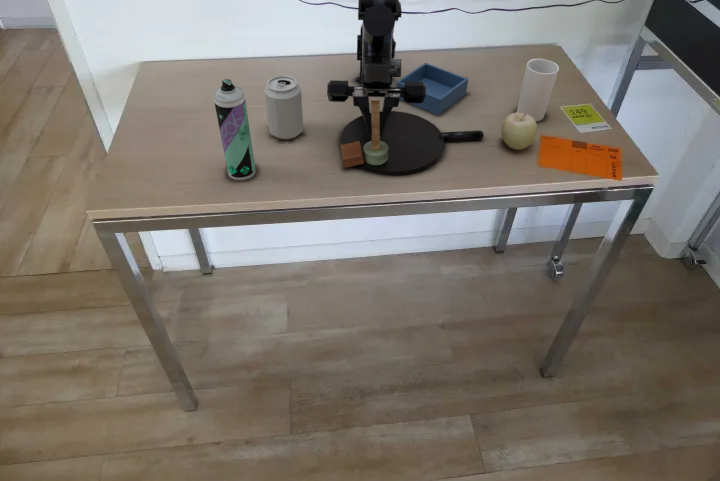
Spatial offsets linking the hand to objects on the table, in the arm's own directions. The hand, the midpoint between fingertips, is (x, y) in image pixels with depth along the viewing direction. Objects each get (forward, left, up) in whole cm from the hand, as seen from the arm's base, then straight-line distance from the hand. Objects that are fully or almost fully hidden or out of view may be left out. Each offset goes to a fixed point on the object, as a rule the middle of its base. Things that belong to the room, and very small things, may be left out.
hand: (375, 136), depth 109 cm
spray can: (-20, -18, -8) cm, 28 cm away
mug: (+14, +40, -8) cm, 43 cm away
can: (-23, -2, -8) cm, 24 cm away
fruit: (+18, +26, -8) cm, 33 cm away
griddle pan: (+1, +12, -8) cm, 15 cm away
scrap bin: (-7, +31, -8) cm, 33 cm away
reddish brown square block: (-4, -1, -6) cm, 8 cm away
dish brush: (-1, +2, -6) cm, 7 cm away
